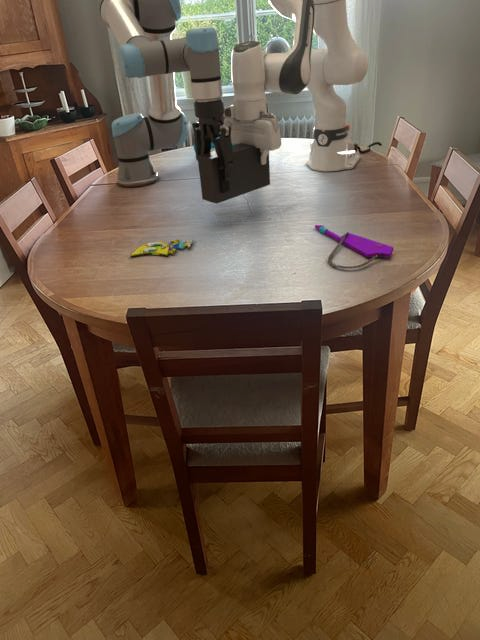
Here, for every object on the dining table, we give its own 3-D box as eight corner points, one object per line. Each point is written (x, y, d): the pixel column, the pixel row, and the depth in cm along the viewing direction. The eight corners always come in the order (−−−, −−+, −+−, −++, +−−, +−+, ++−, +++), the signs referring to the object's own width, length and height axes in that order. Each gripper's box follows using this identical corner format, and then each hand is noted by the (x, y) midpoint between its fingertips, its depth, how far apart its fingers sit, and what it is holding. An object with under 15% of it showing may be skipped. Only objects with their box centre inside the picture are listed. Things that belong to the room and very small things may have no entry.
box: (216, 203, 131) (211, 158, 125) (202, 199, 135) (197, 155, 129) (270, 184, 142) (268, 142, 135) (256, 180, 146) (253, 139, 139)
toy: (185, 253, 123) (129, 254, 125) (186, 256, 123) (130, 257, 125) (193, 237, 131) (141, 238, 133) (194, 240, 132) (141, 241, 134)
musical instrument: (376, 279, 107) (404, 235, 119) (376, 271, 106) (404, 227, 118) (282, 266, 120) (316, 227, 132) (281, 259, 119) (315, 220, 131)
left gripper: (244, 99, 117) (250, 192, 129) (197, 94, 129) (207, 179, 142) (220, 104, 113) (229, 200, 125) (174, 99, 125) (186, 186, 138)
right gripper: (285, 111, 126) (287, 164, 133) (235, 105, 139) (239, 154, 147) (268, 116, 122) (270, 170, 130) (218, 109, 136) (223, 159, 144)
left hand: (217, 189), depth 134 cm, fingers closed on box, 6 cm apart
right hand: (253, 161), depth 139 cm, fingers closed on box, 6 cm apart
